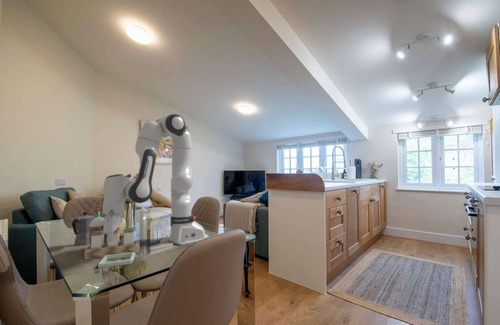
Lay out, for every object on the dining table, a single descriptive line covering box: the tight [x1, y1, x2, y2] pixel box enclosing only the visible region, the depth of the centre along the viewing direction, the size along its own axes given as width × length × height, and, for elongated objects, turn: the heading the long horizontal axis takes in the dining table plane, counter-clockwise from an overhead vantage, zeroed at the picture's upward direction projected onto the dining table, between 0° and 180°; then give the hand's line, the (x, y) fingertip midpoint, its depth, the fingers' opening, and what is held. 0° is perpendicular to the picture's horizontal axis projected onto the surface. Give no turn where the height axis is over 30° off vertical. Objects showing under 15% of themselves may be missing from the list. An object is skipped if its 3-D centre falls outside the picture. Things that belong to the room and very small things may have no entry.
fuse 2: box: [123, 226, 136, 245], centre depth 109 cm, size 4×4×11 cm
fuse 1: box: [91, 230, 104, 249], centre depth 105 cm, size 4×4×11 cm
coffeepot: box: [71, 211, 96, 247], centre depth 124 cm, size 15×9×18 cm, turn 1°
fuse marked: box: [107, 228, 121, 247], centre depth 107 cm, size 4×4×11 cm
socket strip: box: [84, 240, 140, 261], centre depth 107 cm, size 21×7×6 cm, turn 109°
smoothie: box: [89, 210, 108, 246], centre depth 114 cm, size 8×8×20 cm
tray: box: [97, 252, 136, 269], centre depth 97 cm, size 12×10×3 cm
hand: (113, 238), depth 107 cm, fingers open, 8 cm apart
